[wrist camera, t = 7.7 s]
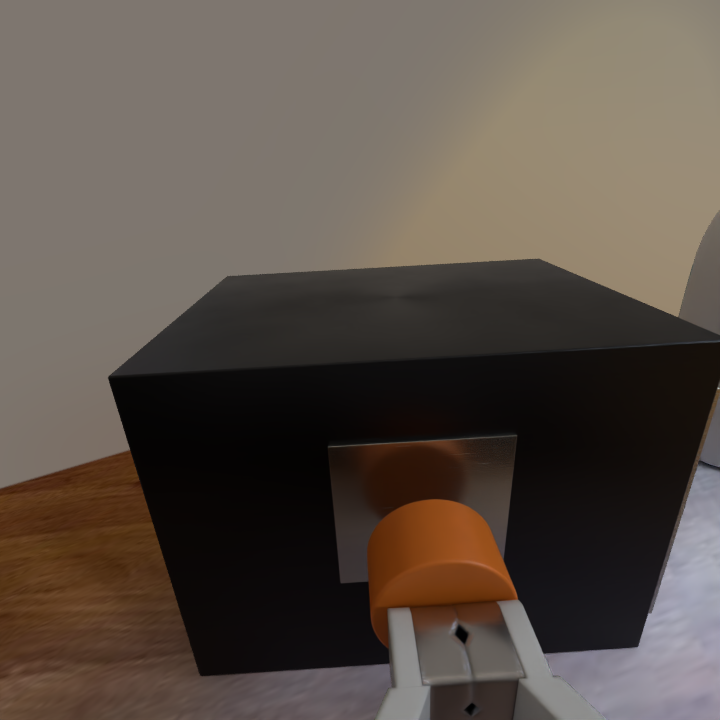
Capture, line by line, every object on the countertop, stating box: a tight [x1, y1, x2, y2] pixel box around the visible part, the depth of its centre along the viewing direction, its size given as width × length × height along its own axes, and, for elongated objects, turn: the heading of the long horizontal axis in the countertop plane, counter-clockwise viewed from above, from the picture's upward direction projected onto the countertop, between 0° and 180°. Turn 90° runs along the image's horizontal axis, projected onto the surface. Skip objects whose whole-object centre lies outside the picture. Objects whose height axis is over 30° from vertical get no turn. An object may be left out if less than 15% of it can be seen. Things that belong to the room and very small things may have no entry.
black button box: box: [108, 259, 720, 676], centre depth 19 cm, size 16×12×12 cm
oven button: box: [367, 499, 518, 649], centre depth 11 cm, size 3×2×3 cm, turn 92°
